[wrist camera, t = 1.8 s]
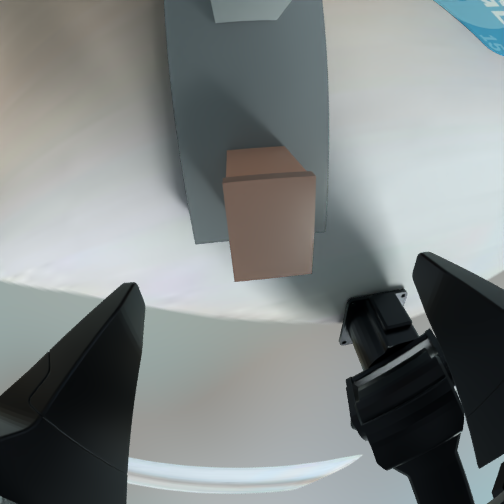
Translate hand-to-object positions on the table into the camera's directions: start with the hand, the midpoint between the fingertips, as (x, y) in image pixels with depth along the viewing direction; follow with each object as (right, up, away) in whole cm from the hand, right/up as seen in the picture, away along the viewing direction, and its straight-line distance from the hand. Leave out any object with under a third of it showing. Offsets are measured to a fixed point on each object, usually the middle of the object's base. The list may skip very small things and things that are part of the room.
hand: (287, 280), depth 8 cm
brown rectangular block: (-1, +6, +10) cm, 11 cm away
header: (-1, +11, +7) cm, 13 cm away
